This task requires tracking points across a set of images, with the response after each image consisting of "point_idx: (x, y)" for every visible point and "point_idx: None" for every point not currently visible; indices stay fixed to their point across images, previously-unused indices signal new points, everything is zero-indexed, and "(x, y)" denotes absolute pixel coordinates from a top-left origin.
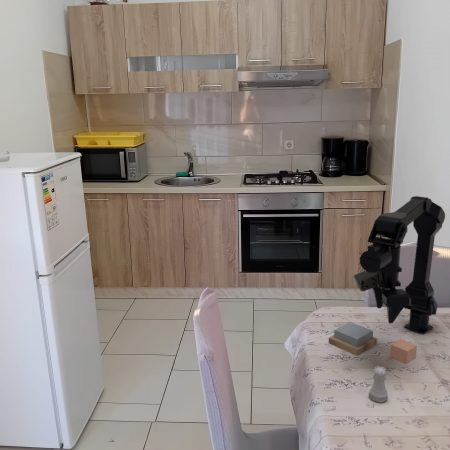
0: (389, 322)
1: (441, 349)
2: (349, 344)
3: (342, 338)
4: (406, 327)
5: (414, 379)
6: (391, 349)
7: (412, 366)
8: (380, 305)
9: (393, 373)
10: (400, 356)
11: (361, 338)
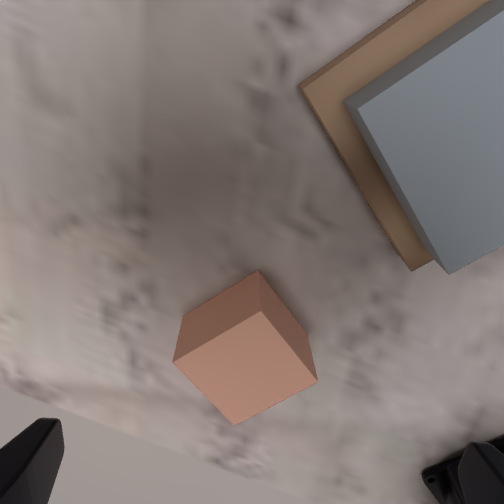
0: (33, 428)
1: (285, 480)
2: (392, 59)
3: (470, 19)
4: (498, 442)
5: (40, 294)
6: (254, 296)
7: (157, 331)
8: (477, 499)
9: (90, 221)
10: (207, 314)
11: (380, 155)
